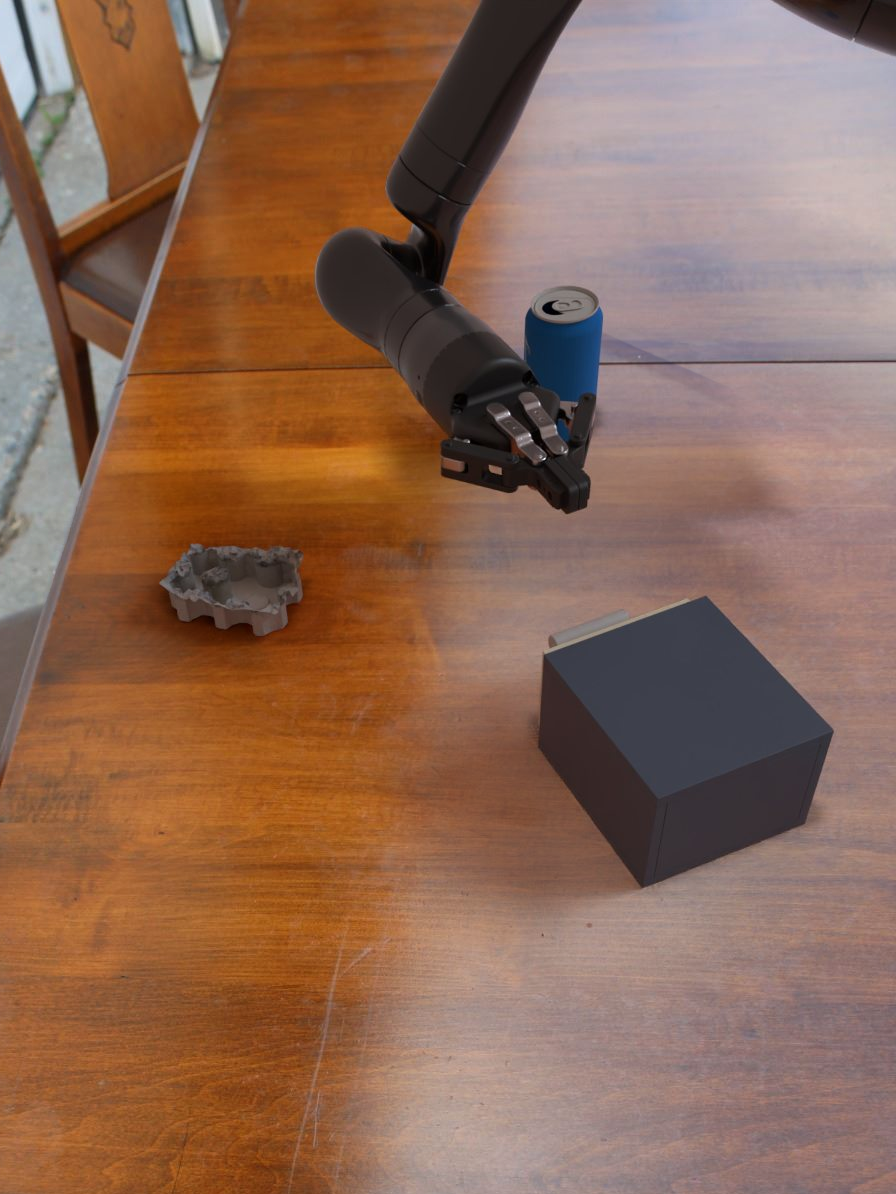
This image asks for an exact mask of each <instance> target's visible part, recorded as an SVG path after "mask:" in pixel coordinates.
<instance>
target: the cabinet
mask: <svg viewBox="0 0 896 1194" xmlns="http://www.w3.org/2000/svg"><path fill="white" fill-rule="evenodd" d="M543 663H544V664H543V676H542V692H541V708H540V724H539V726H538V727H539V728H538V740H537V748H538V749H539V750H540V752H541V754H543V756H544V757H545V759H546V760H547V762H548V763H549V764H550V766H551V767H552V768H553V770H554V771H555V772H556V774H557V775H558V777H560V780H561V781H562V782H563V783H564V784H565V786H566V787H567V789H568V790H569V791H570V793H571V794H572V795H573V797H574V798H575V799H576V800H577V802H578V803H579V805H580V806H581V808H582V809H583V810H584V812H585V813H586V814H587V816H588V817H589V819H590V820H591V821H592V823H593V824H594V825H595V826H596V829H598V831H599V832H600V833H601V835H602V836H603V837H604V839H605V840H606V841H607V843H608V844H609V846H610V847H611V848H612V850H613V851H614V852H615V854H616V855H617V857H618V858H619V859H620V861H621V862H622V863H623V864H624V866H625V867H626V869H627V870H628V871H629V873H630V874H631V876H632V877H633V878H634V879H635V881H636V882H637V884H638V885H639V886H640V888H641V889H645V888H648V887H649V886H650V887H651V886H652V885H655V884H657V883H660V882H663V881H664V880H667V879H670V878H673V877H675V876H677V875H680V874H682V873H685V872H687V871H690V870H692V869H695V868H697V867H701V866H702V865H704V864H707V863H710V862H712V861H715V860H717V859H720V858H722V857H725V856H728V855H730V854H733V853H735V852H737V851H740V850H742V849H745V848H747V847H751V846H752V845H755V844H757V843H760V842H763V841H764V840H768V839H771V838H773V837H775V836H777V835H780V834H782V833H784V832H788V831H790V830H793V829H795V828H798V827H800V826H802V825H805V824H806V822H807V818H808V815H809V812H810V809H811V805H812V803H813V800H814V796H815V793H816V790H817V788H818V783H819V780H820V778H821V775H822V771H823V768H824V764H825V761H826V759H827V756H828V752H829V750H830V749H829V748H830V746H831V742H832V739H833V736H834V732H835V729H834V728H833V727H832V726H831V725H830V724H829V723H828V722H827V721H826V720H825V719H824V718H823V717H822V715H820V713H818V711H817V710H816V709H815V708H814V707H813V706H812V705H811V704H810V703H809V702H808V701H807V700H806V699H805V698H804V696H802V695H801V693H799V692H798V690H797V689H796V688H795V687H794V686H793V685H792V684H791V683H790V682H789V681H788V680H787V679H786V678H785V677H784V676H783V674H782V673H780V672H779V670H778V669H777V668H776V667H775V666H774V665H773V664H772V662H770V661H769V660H768V659H767V658H766V656H765V655H764V654H763V653H762V652H760V651H759V649H758V648H756V646H755V645H754V644H753V643H752V642H751V640H749V639H748V638H747V637H746V636H745V634H743V632H742V631H741V630H739V628H737V626H736V625H735V624H734V623H733V622H732V621H731V620H730V619H729V618H728V617H727V616H726V615H725V613H723V612H722V610H721V609H720V608H719V607H718V606H717V605H716V604H715V603H714V602H713V601H712V600H711V599H710V598H709V597H708V596H707V595H703V596H701V597H698V598H695V599H693V600H689V602H687V603H684V604H681V605H678V606H676V607H673V608H670V609H668V610H665V611H662V612H659V613H657V614H654V615H651V616H648V617H646V618H643V619H640V620H637V621H635V622H632V623H629V624H626V625H624V626H621V627H618V628H615V629H613V630H610V631H607V632H604V633H602V634H599V635H596V636H593V637H591V638H588V639H585V640H583V641H580V642H577V643H574V644H572V645H569V646H566V647H563V648H561V649H558V650H555V651H552V652H550V653H547V654H544V659H543Z"/></svg>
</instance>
